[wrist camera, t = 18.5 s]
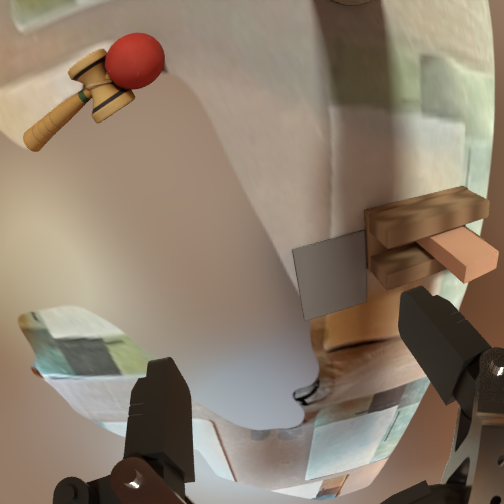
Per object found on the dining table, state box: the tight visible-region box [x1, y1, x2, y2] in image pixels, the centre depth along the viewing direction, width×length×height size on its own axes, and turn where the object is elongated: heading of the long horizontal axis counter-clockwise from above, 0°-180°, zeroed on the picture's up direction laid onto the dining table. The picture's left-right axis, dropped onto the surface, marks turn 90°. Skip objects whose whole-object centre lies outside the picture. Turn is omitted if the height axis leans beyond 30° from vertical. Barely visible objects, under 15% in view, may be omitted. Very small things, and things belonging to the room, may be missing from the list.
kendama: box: [23, 33, 165, 152], centre depth 27 cm, size 8×6×18 cm
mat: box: [292, 230, 367, 321], centre depth 44 cm, size 10×12×1 cm
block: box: [415, 226, 499, 284], centre depth 36 cm, size 6×2×12 cm, turn 104°
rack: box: [364, 186, 490, 290], centre depth 40 cm, size 18×9×6 cm, turn 102°
